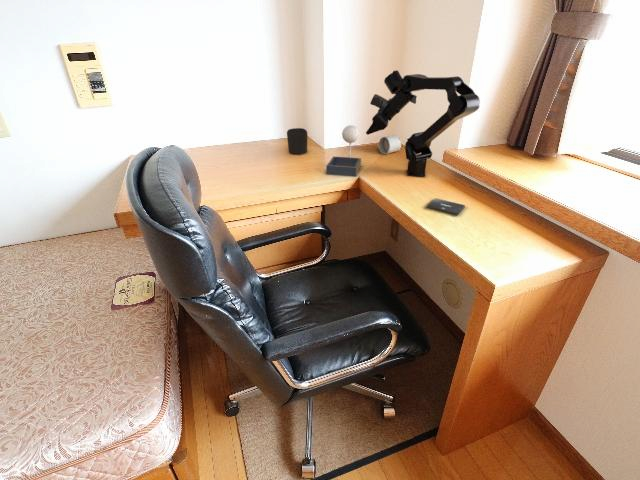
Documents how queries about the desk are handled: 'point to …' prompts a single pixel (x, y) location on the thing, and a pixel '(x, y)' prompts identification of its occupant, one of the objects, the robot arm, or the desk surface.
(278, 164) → the desk surface
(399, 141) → the ceramic mug
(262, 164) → the desk surface
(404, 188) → the desk surface
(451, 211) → the solid state drive
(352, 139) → the lollipop
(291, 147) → the pen holder
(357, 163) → the caddy
